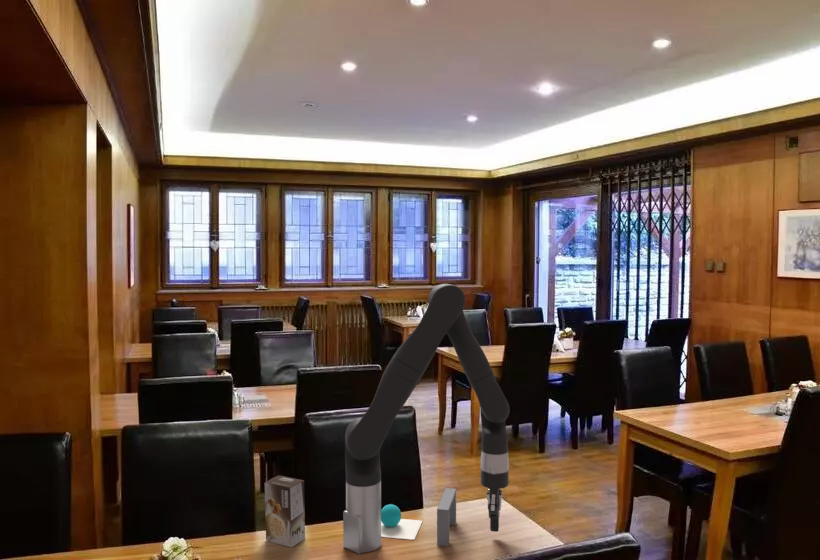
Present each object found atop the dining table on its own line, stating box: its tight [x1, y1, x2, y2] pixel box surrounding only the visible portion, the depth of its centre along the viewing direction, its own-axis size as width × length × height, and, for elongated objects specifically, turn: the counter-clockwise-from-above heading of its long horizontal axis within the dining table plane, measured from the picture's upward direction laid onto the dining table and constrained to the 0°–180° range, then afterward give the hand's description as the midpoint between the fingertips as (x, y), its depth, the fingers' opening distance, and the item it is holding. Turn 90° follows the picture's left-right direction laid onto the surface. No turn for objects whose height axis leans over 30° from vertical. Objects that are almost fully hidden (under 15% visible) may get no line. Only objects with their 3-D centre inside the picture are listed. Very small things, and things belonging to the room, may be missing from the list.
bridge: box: [436, 487, 457, 547], centre depth 171 cm, size 3×15×10 cm, turn 168°
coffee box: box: [264, 475, 306, 548], centre depth 167 cm, size 9×6×16 cm
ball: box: [381, 503, 402, 527], centre depth 176 cm, size 6×6×6 cm
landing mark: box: [381, 518, 423, 541], centre depth 174 cm, size 12×12×1 cm
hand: (494, 530), depth 168 cm, fingers closed
